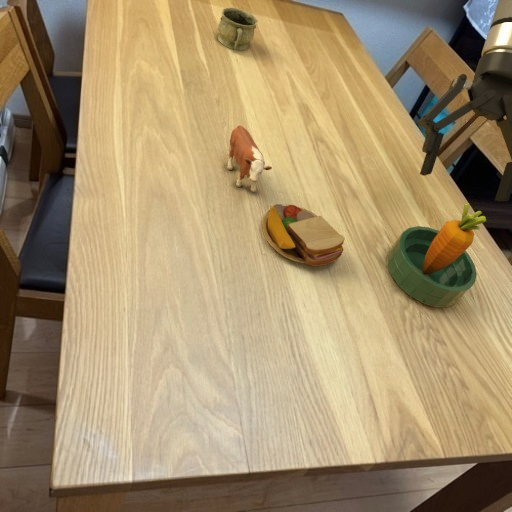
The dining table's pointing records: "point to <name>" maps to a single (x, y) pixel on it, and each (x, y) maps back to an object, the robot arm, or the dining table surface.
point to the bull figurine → (246, 156)
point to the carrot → (451, 241)
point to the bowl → (434, 284)
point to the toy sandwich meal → (301, 235)
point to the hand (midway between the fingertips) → (463, 187)
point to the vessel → (236, 28)
